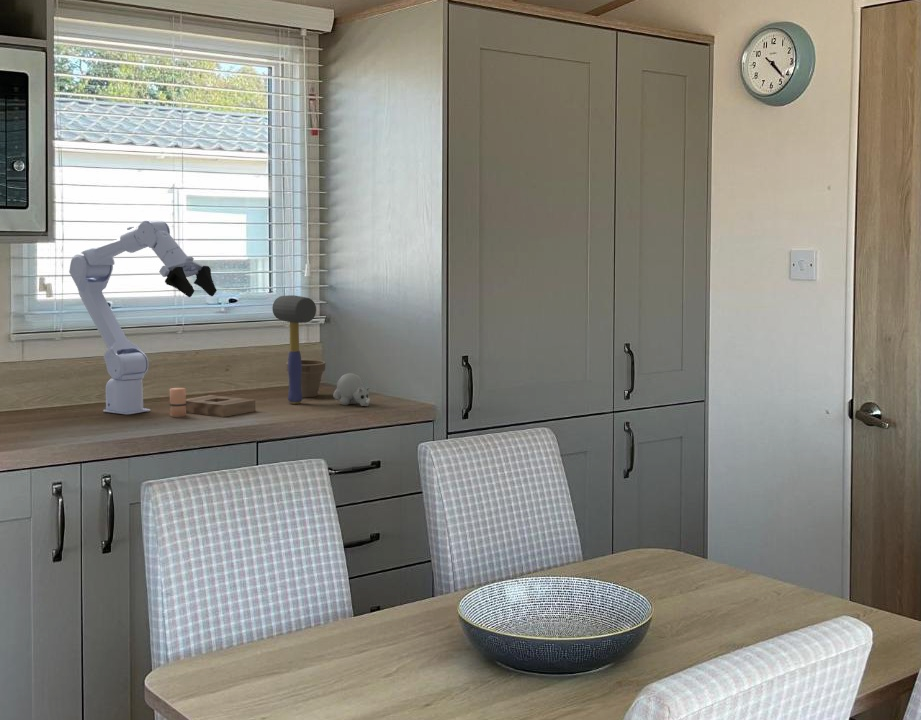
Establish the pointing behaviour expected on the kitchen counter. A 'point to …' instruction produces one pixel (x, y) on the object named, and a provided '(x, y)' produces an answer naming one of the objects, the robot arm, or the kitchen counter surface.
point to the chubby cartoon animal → (351, 390)
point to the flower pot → (310, 376)
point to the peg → (178, 402)
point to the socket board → (219, 405)
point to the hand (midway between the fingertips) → (203, 293)
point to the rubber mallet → (294, 336)
